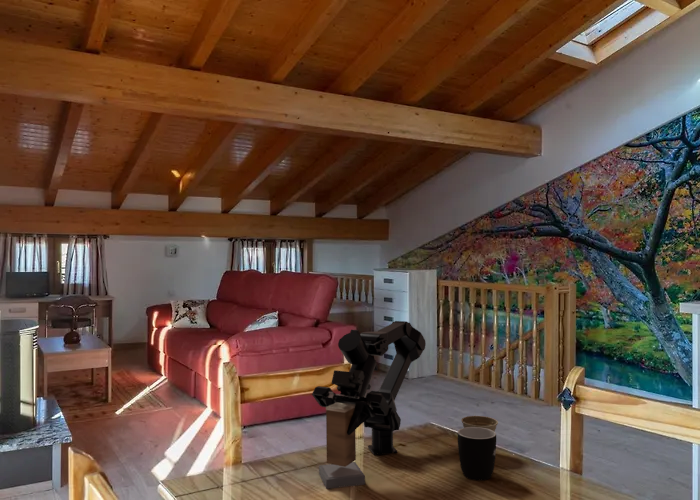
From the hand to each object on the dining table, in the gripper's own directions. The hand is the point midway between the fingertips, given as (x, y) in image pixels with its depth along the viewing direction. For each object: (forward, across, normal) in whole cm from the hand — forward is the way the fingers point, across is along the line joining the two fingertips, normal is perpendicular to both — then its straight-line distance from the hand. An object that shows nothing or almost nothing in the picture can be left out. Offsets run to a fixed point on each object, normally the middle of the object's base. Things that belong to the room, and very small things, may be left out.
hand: (338, 432), depth 133 cm
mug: (-5, +27, +22) cm, 35 cm away
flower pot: (-15, +24, +32) cm, 42 cm away
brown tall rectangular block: (+4, 0, +6) cm, 7 cm away
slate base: (+7, 0, +9) cm, 11 cm away
